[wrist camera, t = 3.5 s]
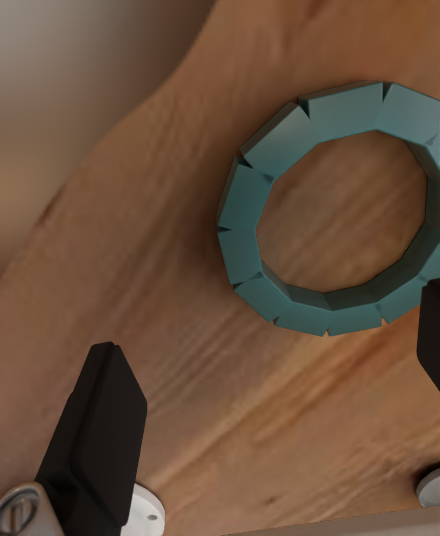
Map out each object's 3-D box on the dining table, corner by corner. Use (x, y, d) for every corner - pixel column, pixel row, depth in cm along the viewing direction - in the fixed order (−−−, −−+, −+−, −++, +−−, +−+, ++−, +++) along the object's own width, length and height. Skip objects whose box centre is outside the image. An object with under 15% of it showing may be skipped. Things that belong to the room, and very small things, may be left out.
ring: (243, 333, 22) (246, 353, 21) (192, 122, 16) (190, 127, 14) (449, 292, 21) (469, 310, 20) (478, 51, 15) (510, 49, 14)
